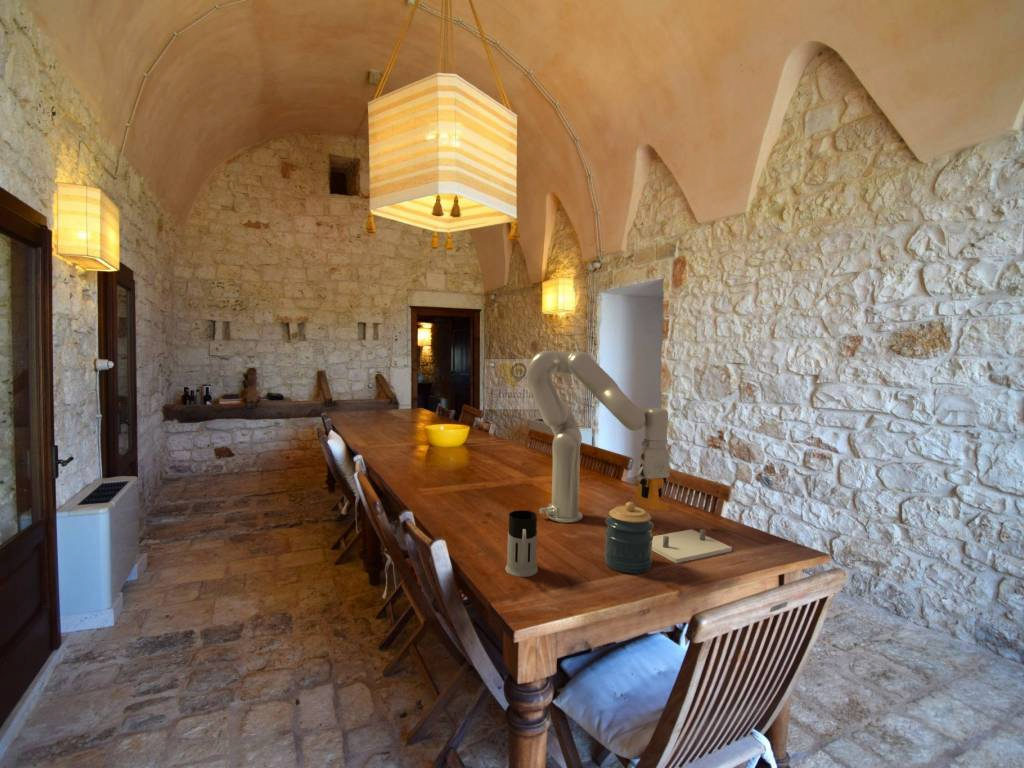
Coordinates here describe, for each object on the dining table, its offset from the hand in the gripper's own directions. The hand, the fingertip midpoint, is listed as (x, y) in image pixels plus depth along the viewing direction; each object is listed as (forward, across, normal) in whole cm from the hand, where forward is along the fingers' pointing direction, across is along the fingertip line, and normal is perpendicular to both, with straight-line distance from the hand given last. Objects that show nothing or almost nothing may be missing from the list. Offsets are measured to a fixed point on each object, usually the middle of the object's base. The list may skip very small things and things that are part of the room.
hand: (651, 496), depth 168 cm
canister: (+10, -27, -22) cm, 37 cm away
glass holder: (+11, -57, -16) cm, 61 cm away
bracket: (+4, 0, 0) cm, 4 cm away
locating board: (+10, -3, -20) cm, 22 cm away
